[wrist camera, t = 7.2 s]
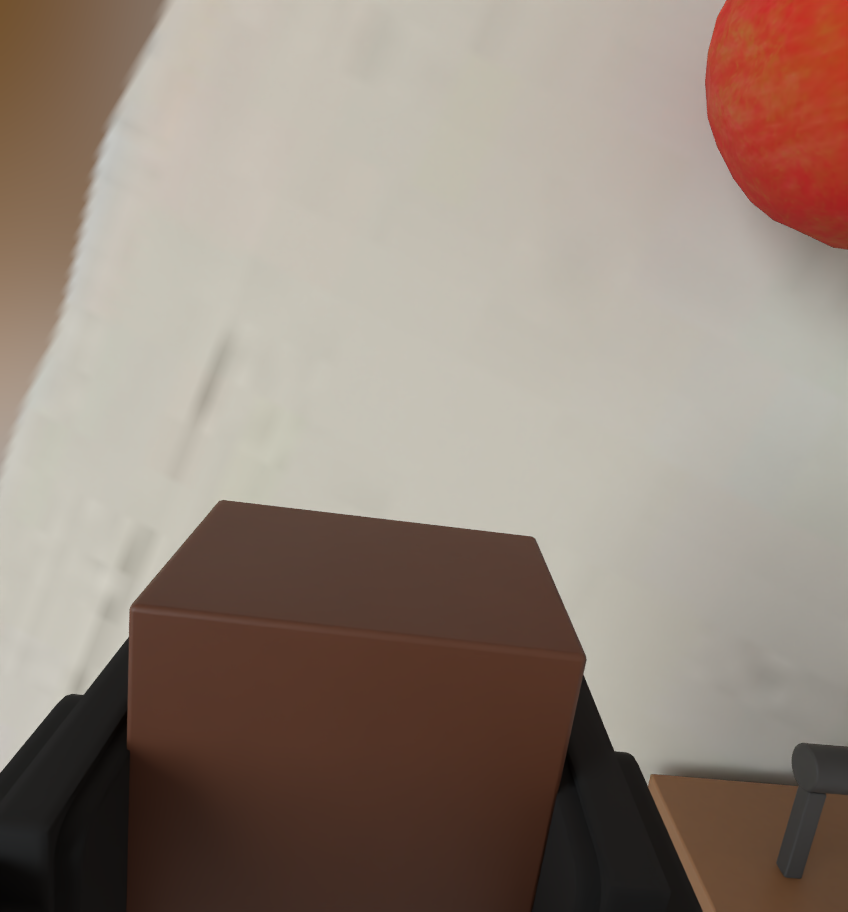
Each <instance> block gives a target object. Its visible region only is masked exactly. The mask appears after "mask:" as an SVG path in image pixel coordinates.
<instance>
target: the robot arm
mask: <svg viewBox="0 0 848 912" xmlns="http://www.w3.org/2000/svg"><path fill="white" fill-rule="evenodd" d="M128 664H129V637H128V639H127V640H126V641H125V643H124V644H123V645H122V646H121V648H120V649H119V650H118V652H117V653H116V654H115V655H114V657H113V658H112V659H111V661H110V662H109V663H108V664H107V666H106V667H105V668H104V670H103V671H102V672H101V673H100V675H99V676H98V677H97V679H96V680H95V681H94V682H93V684H92V685H91V686H90V688H89V689H88V690H87V691H86V693H85V694H84V695H77V694H70V695H67V696H65V697H64V698H63V699H62V700H61V701H60V702H59V703H58V704H57V705H56V706H55V707H54V708H53V710H52V711H51V712H50V713H49V715H48V716H47V717H46V718H45V719H44V721H43V722H42V723H41V724H40V725H39V727H38V728H37V729H36V730H35V732H34V733H33V734H32V735H31V736H30V738H29V739H28V740H27V741H26V742H25V744H24V745H23V746H22V747H21V749H20V750H19V751H18V752H17V753H16V755H15V756H14V757H13V758H12V759H11V761H10V762H9V763H8V764H7V766H6V767H5V768H4V769H3V770H2V772H1V773H0V912H126V906H127V862H128V818H129V774H130V751H129V750H127V711H128ZM532 912H703V910H702V908H701V906H700V904H699V901H698V899H697V897H696V894H695V892H694V890H693V888H692V885H691V883H690V881H689V879H688V876H687V874H686V872H685V870H684V867H683V865H682V863H681V860H680V858H679V856H678V854H677V851H676V849H675V847H674V845H673V842H672V840H671V838H670V836H669V833H668V831H667V829H666V826H665V824H664V822H663V820H662V817H661V815H660V813H659V811H658V808H657V806H656V804H655V802H654V799H653V797H652V795H651V792H650V790H649V788H648V786H647V783H646V781H645V779H644V777H643V774H642V772H641V770H640V768H639V765H638V763H637V762H636V760H635V758H634V757H633V756H632V755H631V754H629V753H625V752H616V751H614V749H613V747H612V744H611V742H610V739H609V737H608V734H607V732H606V729H605V727H604V725H603V722H602V720H601V717H600V715H599V712H598V710H597V707H596V705H595V702H594V700H593V697H592V695H591V692H590V690H589V687H588V685H587V682H586V680H585V678H584V675H583V678H582V683H581V687H580V692H579V697H578V702H577V706H576V711H575V716H574V720H573V725H572V730H571V734H570V739H569V744H568V748H567V753H566V758H565V762H564V767H563V772H562V776H561V781H560V786H559V790H558V794H557V797H556V801H555V806H554V811H553V815H552V820H551V825H550V829H549V834H548V839H547V844H546V848H545V853H544V858H543V862H542V867H541V872H540V876H539V881H538V886H537V890H536V895H535V900H534V904H533V909H532Z"/></svg>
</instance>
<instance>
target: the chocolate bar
mask: <svg viewBox="0 0 848 912" xmlns="http://www.w3.org/2000/svg"><path fill="white" fill-rule="evenodd" d="M585 664H586V656H585V653H584V651H583V648H582V646H581V644H580V641H579V639H578V637H577V634H576V632H575V630H574V627H573V625H572V623H571V620H570V618H569V616H568V614H567V611H566V609H565V607H564V604H563V602H562V600H561V597H560V595H559V593H558V590H557V588H556V586H555V583H554V581H553V579H552V576H551V574H550V572H549V570H548V567H547V565H546V563H545V560H544V558H543V556H542V553H541V551H540V549H539V546H538V544H537V542H536V539H535V538H533V537H530V536H522V535H513V534H505V533H496V532H488V531H479V530H471V529H462V528H454V527H446V526H437V525H429V524H420V523H412V522H403V521H395V520H386V519H378V518H370V517H361V516H353V515H344V514H336V513H327V512H319V511H310V510H302V509H293V508H285V507H277V506H268V505H260V504H251V503H243V502H234V501H226V500H222V501H219V502H218V503H217V504H216V506H215V507H214V508H213V509H212V510H211V511H210V513H209V514H208V515H207V516H206V517H205V519H204V520H203V521H202V522H201V523H200V524H199V526H198V527H197V528H196V529H195V530H194V532H193V533H192V534H191V535H190V536H189V537H188V539H187V540H186V541H185V542H184V543H183V545H182V546H181V547H180V548H179V549H178V550H177V552H176V553H175V554H174V555H173V556H172V558H171V559H170V560H169V561H168V562H167V563H166V565H165V566H164V567H163V568H162V569H161V571H160V572H159V573H158V574H157V575H156V576H155V578H154V579H153V580H152V581H151V582H150V584H149V585H148V586H147V587H146V588H145V589H144V591H143V592H142V593H141V594H140V595H139V597H138V598H137V599H136V600H135V601H134V602H133V604H132V605H131V607H130V617H129V664H128V711H127V750H129V751H130V774H129V818H128V862H127V906H126V912H532V909H533V904H534V900H535V895H536V890H537V886H538V881H539V876H540V872H541V867H542V862H543V858H544V853H545V848H546V844H547V839H548V834H549V829H550V825H551V820H552V815H553V811H554V806H555V801H556V797H557V794H558V790H559V786H560V781H561V776H562V772H563V767H564V762H565V758H566V753H567V748H568V744H569V739H570V734H571V730H572V725H573V720H574V716H575V711H576V706H577V702H578V697H579V692H580V687H581V683H582V678H583V673H584V669H585Z"/></svg>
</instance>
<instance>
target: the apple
mask: <svg viewBox="0 0 848 912" xmlns="http://www.w3.org/2000/svg"><path fill="white" fill-rule="evenodd" d="M705 86H706V100H707V114H708V120H709V123H710V126H711V129H712V132H713V135H714V138H715V142H716V145H717V147H718V149H719V151H720V153H721V155H722V157H723V159H724V161H725V163H726V165H727V167H728V169H729V171H730V173H731V175H732V176H733V178H734V180H735V181H736V182H737V184H738V185H739V187H740V188H741V189H742V191H743V192H744V193H745V195H746V196H747V197H748V199H749V200H750V201H751V202H752V203H753V204H754V205H756V206H757V207H758V208H759V209H760V210H762V211H763V212H764V213H765V214H767V215H768V216H769V217H770V218H772V219H773V220H774V221H777V222H779V223H781V224H784V225H786V226H788V227H790V228H793V229H795V230H797V231H799V232H802V233H804V234H806V235H808V236H810V237H812V238H814V239H816V240H818V241H821V242H823V243H825V244H827V245H829V246H831V247H833V248H841V249H848V0H726V2H725V4H724V6H723V8H722V10H721V11H720V13H719V15H718V17H717V20H716V24H715V28H714V32H713V35H712V39H711V43H710V47H709V51H708V58H707V68H706V79H705Z"/></svg>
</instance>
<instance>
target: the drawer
mask: <svg viewBox="0 0 848 912" xmlns="http://www.w3.org/2000/svg"><path fill="white" fill-rule="evenodd" d="M792 769H793V774H794V777H795V779H796V781H797V783H798V785H799V786H791V785H779V784H767V783H754V782H742V781H730V780H718V779H706V778H693V777H681V776H669V775H657V774H651V775H650V780H649V784H648V788H649V790H650V792H651V795H652V797H653V799H654V802H655V804H656V806H657V808H658V811H659V813H660V815H661V817H662V820H663V822H664V824H665V826H666V829H667V831H668V833H669V836H670V838H671V840H672V842H673V845H674V847H675V849H676V851H677V854H678V856H679V858H680V860H681V863H682V865H683V867H684V870H685V872H686V874H687V876H688V879H689V881H690V883H691V885H692V888H693V890H694V892H695V894H696V897H697V899H698V901H699V904H700V906H701V908H702V910H703V912H848V747H844V746H832V745H820V744H808V743H801V744H798V745H797V746H796V747H795V748H794V751H793V754H792Z"/></svg>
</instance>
